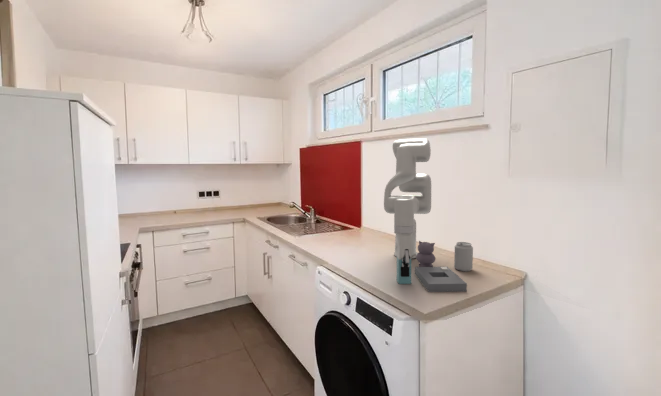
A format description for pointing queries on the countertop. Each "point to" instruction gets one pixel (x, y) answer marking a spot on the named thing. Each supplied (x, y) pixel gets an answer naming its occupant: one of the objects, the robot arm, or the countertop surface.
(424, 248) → the cat figurine
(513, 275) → the countertop surface
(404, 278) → the plug
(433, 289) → the socket
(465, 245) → the can
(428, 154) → the robot arm
